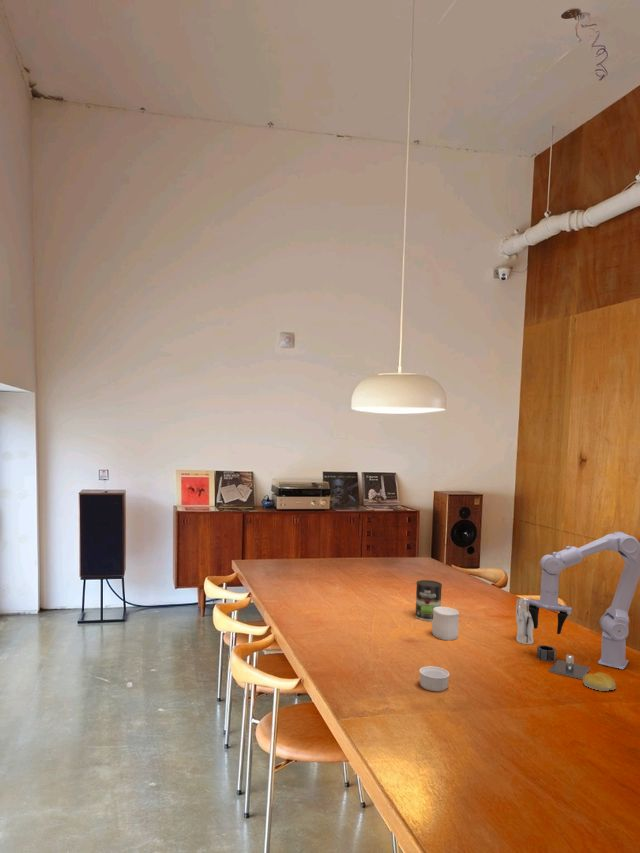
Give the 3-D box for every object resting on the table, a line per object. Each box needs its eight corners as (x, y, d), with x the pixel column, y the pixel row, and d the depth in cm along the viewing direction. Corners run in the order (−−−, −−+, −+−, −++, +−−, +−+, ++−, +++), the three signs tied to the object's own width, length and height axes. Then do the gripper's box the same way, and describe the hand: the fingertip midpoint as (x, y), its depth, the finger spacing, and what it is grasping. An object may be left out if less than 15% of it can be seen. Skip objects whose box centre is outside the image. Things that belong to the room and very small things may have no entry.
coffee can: (439, 622, 240) (440, 587, 240) (413, 619, 243) (414, 584, 243) (441, 615, 250) (443, 581, 250) (417, 612, 253) (418, 579, 253)
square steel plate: (557, 661, 202) (558, 647, 202) (589, 669, 196) (590, 654, 196) (549, 671, 193) (549, 656, 193) (582, 680, 187) (582, 664, 187)
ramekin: (427, 677, 185) (428, 663, 185) (454, 686, 179) (454, 671, 179) (413, 686, 178) (413, 671, 178) (440, 695, 173) (440, 680, 173)
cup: (451, 642, 217) (452, 615, 217) (426, 636, 223) (427, 610, 223) (462, 636, 225) (463, 610, 225) (438, 630, 231) (439, 604, 231)
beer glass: (519, 636, 226) (520, 597, 226) (537, 641, 222) (538, 600, 222) (511, 641, 221) (513, 600, 221) (530, 646, 217) (532, 604, 217)
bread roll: (577, 682, 186) (577, 669, 186) (601, 680, 188) (602, 668, 188) (595, 694, 178) (596, 680, 178) (621, 692, 180) (621, 678, 180)
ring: (540, 654, 209) (540, 644, 209) (556, 658, 205) (557, 648, 206) (535, 658, 204) (535, 648, 204) (552, 662, 201) (552, 652, 201)
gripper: (524, 588, 206) (522, 628, 206) (568, 597, 197) (566, 638, 197) (530, 585, 211) (528, 623, 211) (573, 593, 203) (571, 633, 203)
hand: (547, 630), depth 205 cm, fingers open, 7 cm apart
